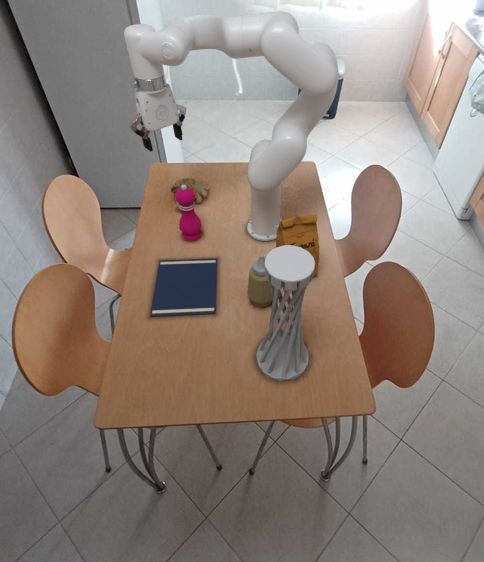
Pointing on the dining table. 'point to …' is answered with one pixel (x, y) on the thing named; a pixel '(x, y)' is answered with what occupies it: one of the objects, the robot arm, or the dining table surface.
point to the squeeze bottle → (259, 284)
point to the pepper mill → (188, 214)
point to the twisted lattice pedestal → (286, 313)
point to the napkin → (185, 288)
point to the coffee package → (300, 235)
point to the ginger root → (198, 188)
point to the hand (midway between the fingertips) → (164, 143)
